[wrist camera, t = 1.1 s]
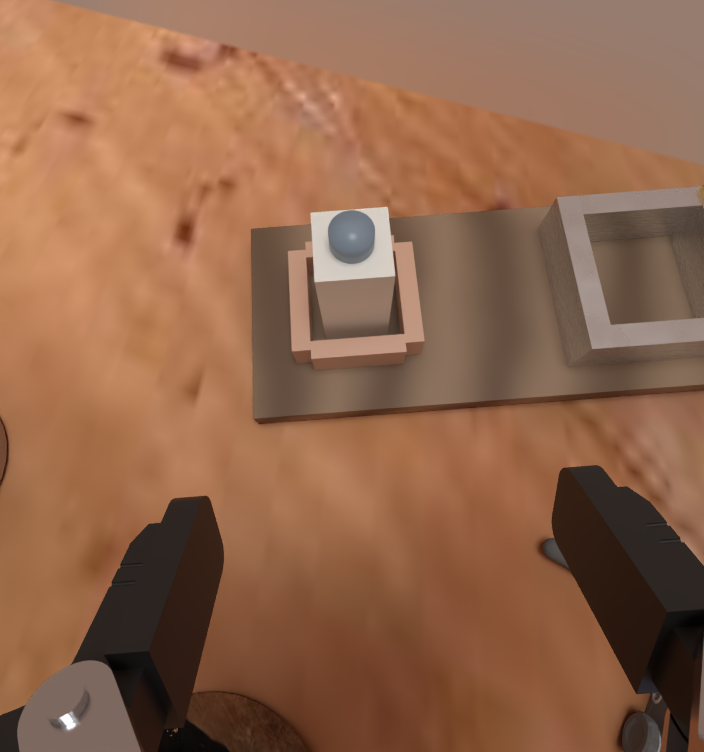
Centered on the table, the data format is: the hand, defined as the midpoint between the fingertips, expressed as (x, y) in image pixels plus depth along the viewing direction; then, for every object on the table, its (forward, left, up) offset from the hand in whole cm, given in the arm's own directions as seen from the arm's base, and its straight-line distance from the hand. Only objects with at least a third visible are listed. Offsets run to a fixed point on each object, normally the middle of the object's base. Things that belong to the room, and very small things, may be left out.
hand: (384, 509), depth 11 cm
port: (+16, +11, -14) cm, 24 cm away
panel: (+8, +11, -15) cm, 21 cm away
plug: (0, +11, -14) cm, 18 cm away
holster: (0, +11, -14) cm, 18 cm away
